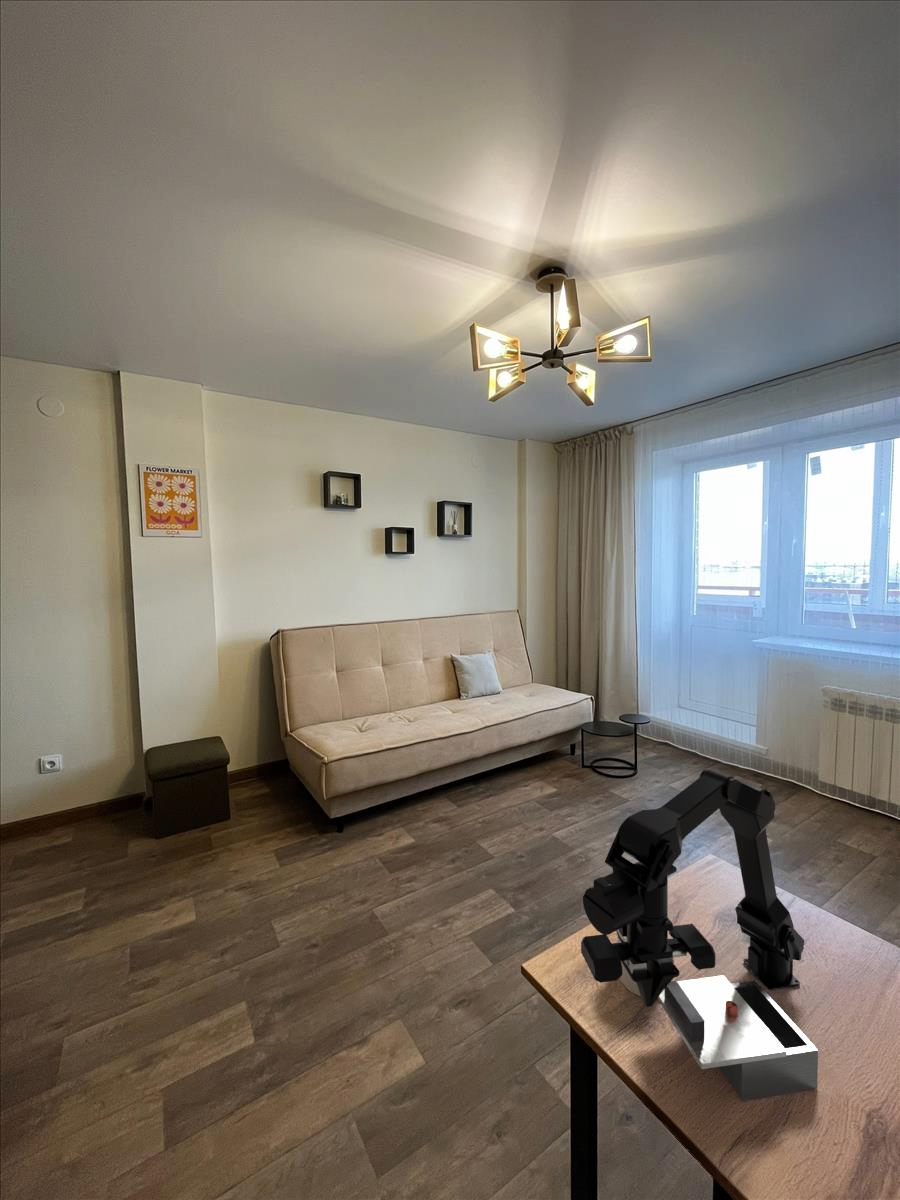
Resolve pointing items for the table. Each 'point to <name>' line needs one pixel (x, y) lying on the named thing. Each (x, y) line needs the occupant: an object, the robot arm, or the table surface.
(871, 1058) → the table surface
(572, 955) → the table surface
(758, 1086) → the metal box
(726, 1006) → the box lid
